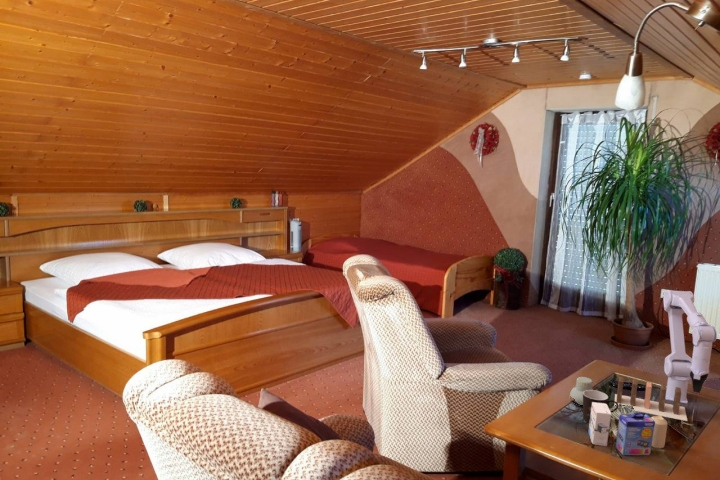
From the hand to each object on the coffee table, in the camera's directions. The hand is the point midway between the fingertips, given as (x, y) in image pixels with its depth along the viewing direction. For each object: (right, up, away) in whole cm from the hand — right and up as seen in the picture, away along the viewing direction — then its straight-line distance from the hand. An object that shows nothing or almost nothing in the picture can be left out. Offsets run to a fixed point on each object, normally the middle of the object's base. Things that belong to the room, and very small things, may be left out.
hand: (696, 391), depth 217 cm
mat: (-14, -8, +8) cm, 18 cm away
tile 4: (-19, -7, +10) cm, 23 cm away
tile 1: (-6, -9, +4) cm, 11 cm away
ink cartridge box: (-36, -13, -26) cm, 46 cm away
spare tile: (-15, -8, +8) cm, 19 cm away
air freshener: (-39, -7, +10) cm, 41 cm away
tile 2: (-10, -8, +6) cm, 15 cm away
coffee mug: (-40, -10, -5) cm, 41 cm away
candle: (-26, -13, -20) cm, 35 cm away
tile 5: (-24, -7, +12) cm, 28 cm away
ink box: (-45, -12, -18) cm, 50 cm away
